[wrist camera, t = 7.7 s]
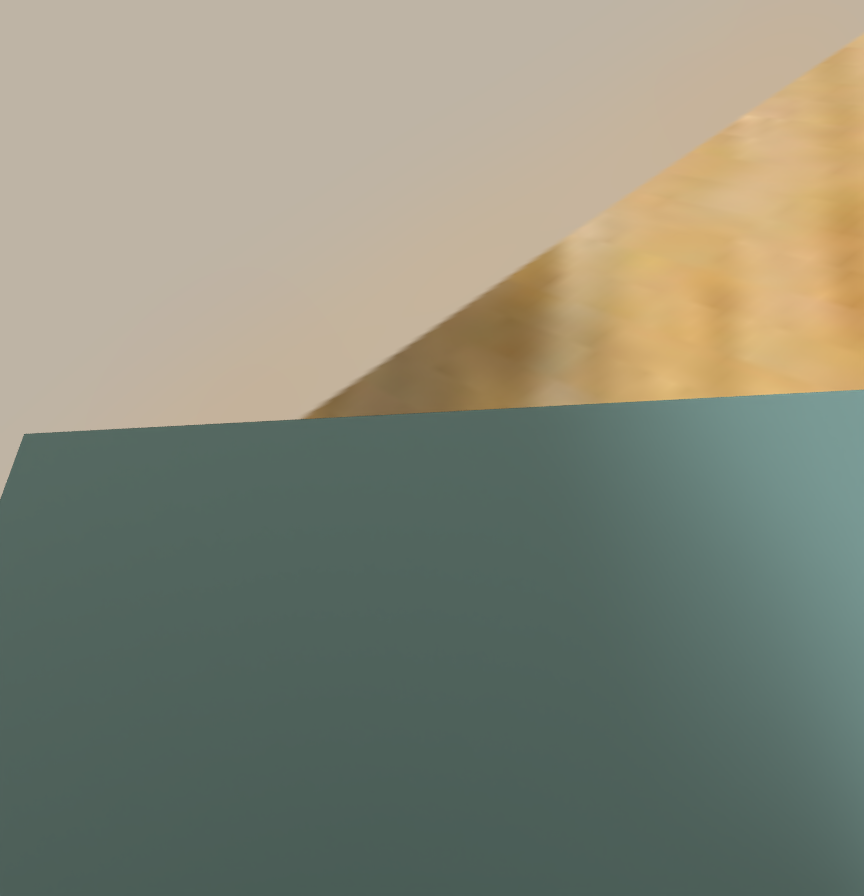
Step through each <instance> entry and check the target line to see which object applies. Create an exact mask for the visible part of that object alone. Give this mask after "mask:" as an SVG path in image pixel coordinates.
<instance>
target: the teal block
mask: <svg viewBox="0 0 864 896" xmlns="http://www.w3.org/2000/svg"><path fill="white" fill-rule="evenodd" d="M0 896H864V390H850V391H831V392H812V393H793V394H774V395H755V396H736V397H717V398H698V399H679V400H660V401H641V402H622V403H603V404H584V405H565V406H546V407H527V408H508V409H489V410H471V411H452V412H433V413H414V414H395V415H376V416H357V417H338V418H319V419H300V420H283V421H282V420H281V421H262V422H243V423H224V424H205V425H186V426H167V427H148V428H130V429H111V430H91V431H72V432H53V433H35V434H24V436H23V439H22V442H21V444H20V447H19V450H18V453H17V455H16V458H15V461H14V464H13V466H12V469H11V472H10V475H9V477H8V480H7V483H6V486H5V488H4V491H3V494H2V496H1V499H0Z"/></svg>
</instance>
